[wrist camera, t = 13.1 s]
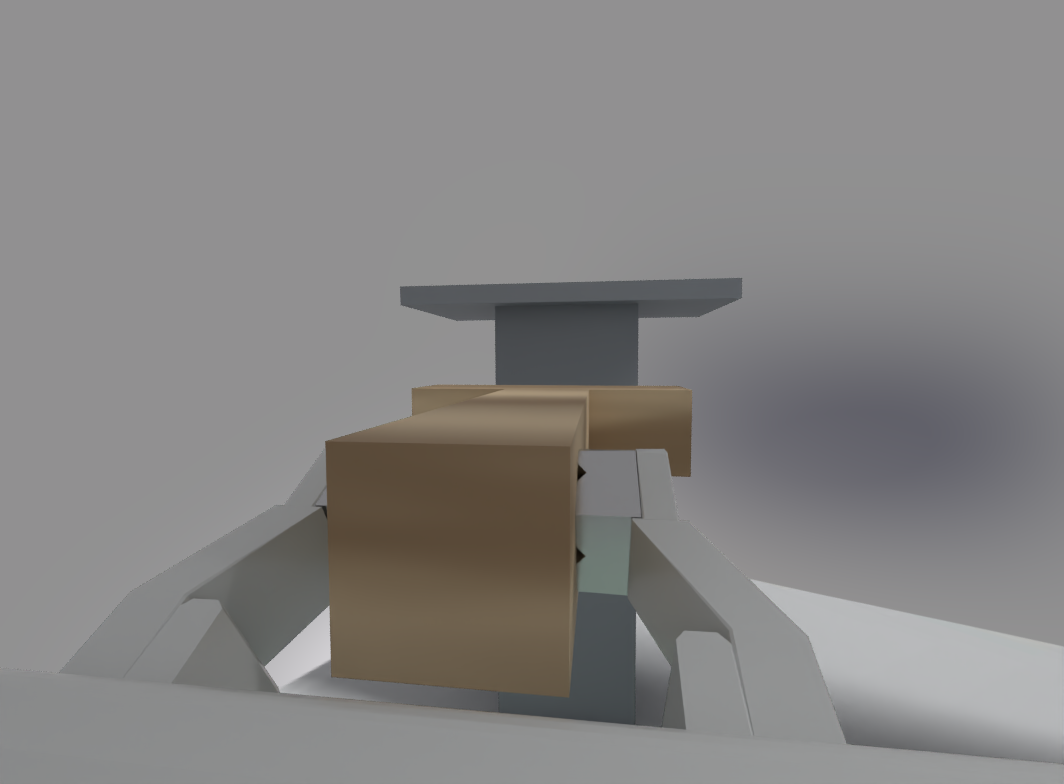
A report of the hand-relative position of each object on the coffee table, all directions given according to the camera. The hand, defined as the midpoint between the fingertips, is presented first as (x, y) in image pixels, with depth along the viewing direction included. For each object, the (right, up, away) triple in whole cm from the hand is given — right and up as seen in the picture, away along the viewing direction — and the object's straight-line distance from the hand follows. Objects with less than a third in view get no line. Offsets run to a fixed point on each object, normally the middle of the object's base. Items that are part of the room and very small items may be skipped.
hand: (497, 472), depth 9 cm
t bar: (+1, -2, +4) cm, 5 cm away
